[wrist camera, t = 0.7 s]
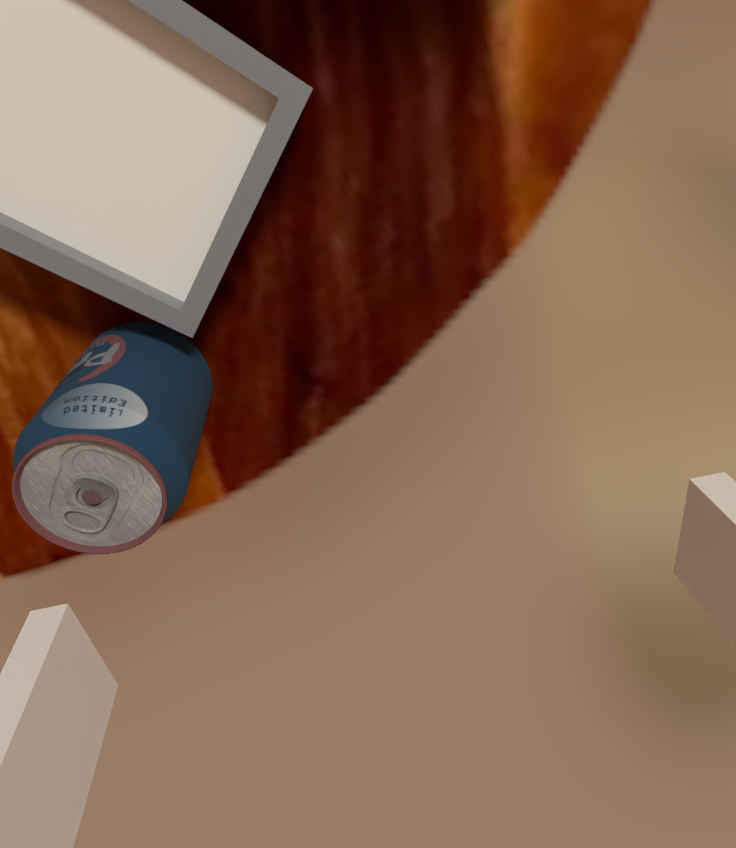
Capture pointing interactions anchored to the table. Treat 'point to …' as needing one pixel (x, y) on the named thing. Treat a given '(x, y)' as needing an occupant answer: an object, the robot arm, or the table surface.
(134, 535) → the soda can
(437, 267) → the table surface
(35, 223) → the dock
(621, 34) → the table surface
